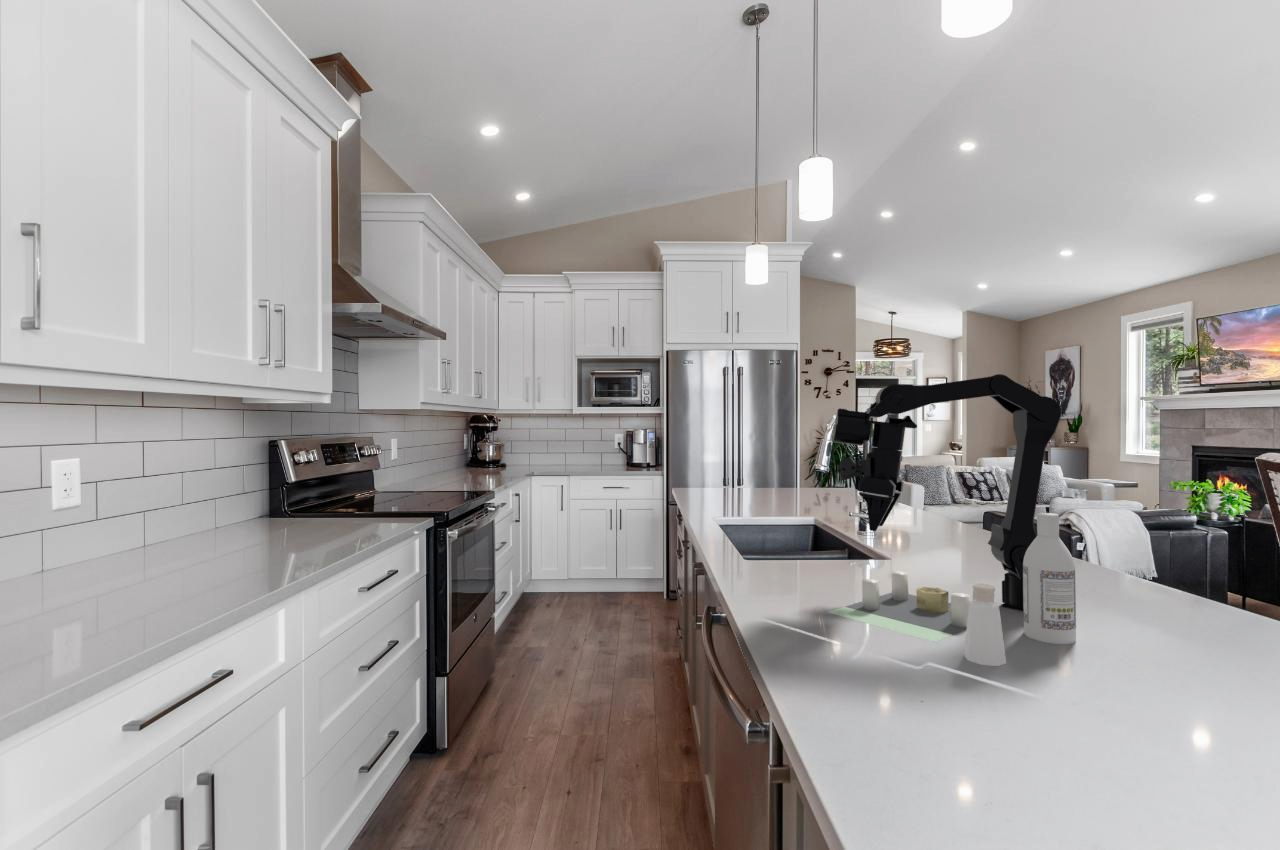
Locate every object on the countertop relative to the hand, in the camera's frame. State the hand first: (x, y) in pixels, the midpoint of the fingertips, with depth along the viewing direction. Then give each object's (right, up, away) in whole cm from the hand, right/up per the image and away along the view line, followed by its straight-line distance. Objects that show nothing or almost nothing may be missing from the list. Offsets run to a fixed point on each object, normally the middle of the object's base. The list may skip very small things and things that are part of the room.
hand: (876, 528), depth 120 cm
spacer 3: (+8, -14, -16) cm, 22 cm away
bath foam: (+19, -14, -22) cm, 32 cm away
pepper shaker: (+4, -14, -31) cm, 34 cm away
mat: (+3, -14, -9) cm, 17 cm away
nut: (+8, -14, -7) cm, 17 cm away
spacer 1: (-3, -14, -6) cm, 15 cm away
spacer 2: (+5, -14, 0) cm, 15 cm away
